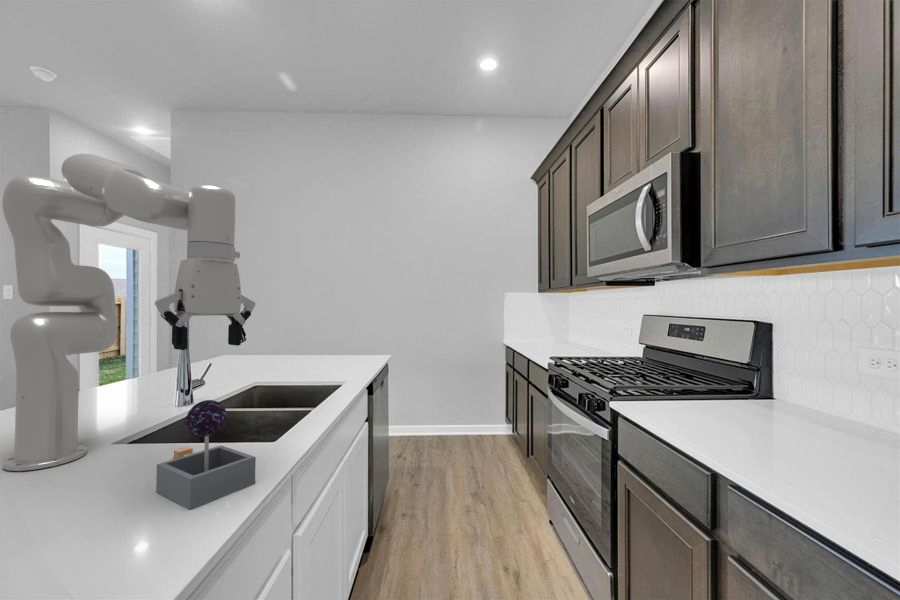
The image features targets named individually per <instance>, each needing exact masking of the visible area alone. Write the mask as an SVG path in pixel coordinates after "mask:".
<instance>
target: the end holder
mask: <svg viewBox="0 0 900 600" xmlns="http://www.w3.org/2000/svg"><path fill="white" fill-rule="evenodd" d="M204 452H205V449H204V450H201V451H197V452H194V454H190V455H187V456H183V457H180V458H177V459H174V458H173V459H170V460H167V461H163V462H161V463H157V464H156V481H155V482H156V483H155V486H156V487H155V488H156V489H155V493H156V494H158V495H161V496H162V497H164V498H166V499H168V500H170V501H172V502H174V503H176V504H177V505H180V506H182V507H183V508H185V509H187V510H189V511H190V510H193V509H195V508H198V507H201V506H202V505H205V504H208V503H211V502H213V501H215V500H218V499H220V498H223V497H226V496H228V495H230V494H232V493H235V492H238V491H240V490H242V489H245V488H247V487H248V488H249V487H250V486H253V485H254V484H256V456H254V455H251V454H248V453H245V452H242V451H239V450H236V449H233V448H230V447H227V446H224V445H219V446H215V447H211V448H209V462H208V471H206V472H204Z"/></svg>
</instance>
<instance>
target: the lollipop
mask: <svg viewBox="0 0 900 600" xmlns="http://www.w3.org/2000/svg"><path fill="white" fill-rule="evenodd" d="M228 419H229V412H228V411H227V410H226V408H225V407H224V405H223V404H222V403H221V402H219V401H217V400H213V399H205V400H201V401H199V402H197V403H195V404H194V405H193V406H192V407H191V408H190V409H189V411H188V412H187V415H186V416H185V417H184V424H185V426H186V427H187V429H188V431H189V432H190V433H192V434H193V435H195V436H198V437H204V450H205V452H204V472H206V471H208V462H209V449H210V448H209V446H210V444H209V443H210V440H209V439H210V436H213V435H216V434H217V433H218V432H220V431H221V429H222V428H224V426H225V424H226V422H227V421H228Z"/></svg>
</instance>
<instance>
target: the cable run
mask: <svg viewBox="0 0 900 600" xmlns="http://www.w3.org/2000/svg"><path fill="white" fill-rule="evenodd" d="M193 450H194V448H193V447H190V446H186V447H182V448H178V449H174V450H173V459H177V458H180V457H183V456H187V455H190V454H194V453H195V452H194V451H193ZM193 452H194V453H193Z"/></svg>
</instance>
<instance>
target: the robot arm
mask: <svg viewBox="0 0 900 600" xmlns="http://www.w3.org/2000/svg"><path fill="white" fill-rule="evenodd" d="M61 174H62V177H63V179H64V181H63V180H59V179H54V178H50V177H45V176H38V175H19V176H16V177H14V178H12V179H11V180H9V182H8V183H7V185H6V186H5V188H4V191H3V195H2V200H1V203H2V213H3V216H4V218H5V222H6V224H7V226H8V229H9V231H10V234H11V236H12V239H13V245H14V258H15V271H16V282H17V284H16V285H17V290H18V294H19V298H21V299H20V300H22V301H23V302H24V303H26V304H28V305H30V306H31V305H32V306H38V307H78V308H79V311H44V312H33V313H29V314H25V315H24V316H20V317H19V318H18V319H16V320H15V322H13V324H12V326H11V327H10V331H9V332H10V333H9V337H10V343H11V347H12V351H13V356H14V362H15V378H16V379H15V415H14V416H15V419H14V420H15V421H14V424H15V425H14V453H13V454H14V455H13V456H12V455H11V456H10V457H8V458H6V459H5V460H4V461H3V462H2V469H3V470H5V471H9V472H12V471H13V472H23V471H25V472H26V471H34V470H40V469H46V468H52V467H55V466H60V465H64V464H67V463H70V462H73V461H75V460H78V459H80V458H81V457H83V456H85V455H86V454H87V451H88V450H87V449H88V448H87V446H86V445H83V444H78V442H79V441H78V436H79V435H78V434H79V433H78V432H79V431H78V430H79V399H80V398H79V397H80V396H79V395H80V394H79V392H80V391H79V390H80V388H79V387H80V383H79V382H80V376H79V372H78V370H77V368H76V367H75V366H74V365H73V364H72V362H71V361H70V360H69V359H68V358H67V356H71V355H78V354H90V353H91V354H92V353H99V352H103V351H107V350H108V349H110V348H111V347H112V346H113V345H115V342H116V341H117V337H118V317H117V309H116V308H117V306H116V295H115V287H114V283H113V279H112V278H111V276H110V275H109V274H108V273H107V272H106V271H105V270H104V269H102V268H99V267H96V266H91V265H83V264H82V265H81V264H80V265H79V264H77V265H76V264H74V262H72V257H71V246H70V242H69V241H68V239H67V238H66V235H64V234H63V232H62V231H61V229H60V228H58V227H57V226H56V225H55V224H54V223H53V222H52V221H53V220H55V221H61V222H67V223H73V224H78V225H83V226H84V225H85V226H89V227H95V228H97V227H99V228H100V227H106V226H109V225H112V224H113V223H115V222H116V221H118V220H120V219H121V218H123V217H124V216H126V217H128V218H131V219H133V220H137V221H140V222H143V223H147V224H153V225H158V226H163V227H168V228H173V229H176V230H183V231H186V232H187V235H186V236H187V238H186V239H187V241H186V243H187V244H186V259H181V261H180V263H179V268H178V272H177V276H176V281H175V282H176V283H175V287H174V288H175V289H174V293H171V294H168V295H166V296H164V297H161V298H160V299H159V298H158V299H157V300H155V301H154V306H155V307H156V309H157V310H158V313H160V317H161V318H162V319H163V320H164V321H166V322H167V323H168V325H169V326H171V345H172V346H173V349H174V350H179V351H180V350H181V351H185V350H187V349H188V333H189V331H188V327H187V326H185V325H186V324H187V322H188V321H189V320H191V318H192V317H193V316H196V317H197V316H208V317H209V316H225V317H227V319H228V320H229V322H231V323H230V324H229V325H228V329H227V331H228V332H227V333H228V334H227V335H228V337H227V343H228V345H230V346H237V347H238V346H241V344H242V339H243V326H244V325H245V324H246V321H247V320H248V319H249V318H250V317H251V315H252V312H253V311H254V309H255V306H256V302H255V301H254V300H252V299H250V298H247V297H246V296H244V295H243V294H242V290H241V289H242V288H241V278H240V277H241V276H240V272H239V268H238V267H239V266H238V263H235V260H236V259H240V257H241V252H239V251H236V247H235V231H236V230H235V229H236V226H235V224H236V197H235V194H234V193H233V192H232V191H231V190H229V189H227V188H224V187H221V186H216V185H210V184H199V185H197V184H196V185H194V186H192V187H190V189H189V190H186V189H183V188H179V187H176V186H174V185H170V184H167V183H163V182H159V181H157V180H153V179H150V178H147V176H146V175H145V174H144V173H143V172H142V171H140V170H139V169H137V168H136V167H134V166H133V167H132V166H131V165H127V164H124V163H120V162H117V161H115V160H111V159H108V158H105V157H102V156H99V155H96V154H92V153H76V154H72V155H71V156H69V157H67V158H65V160H64V161H63V162H62V164H61ZM171 304H173V310H174V312H173V311H172V310H171V308H170V306H171ZM241 305H243V309H242V311H241V308H242V307H241Z"/></svg>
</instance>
